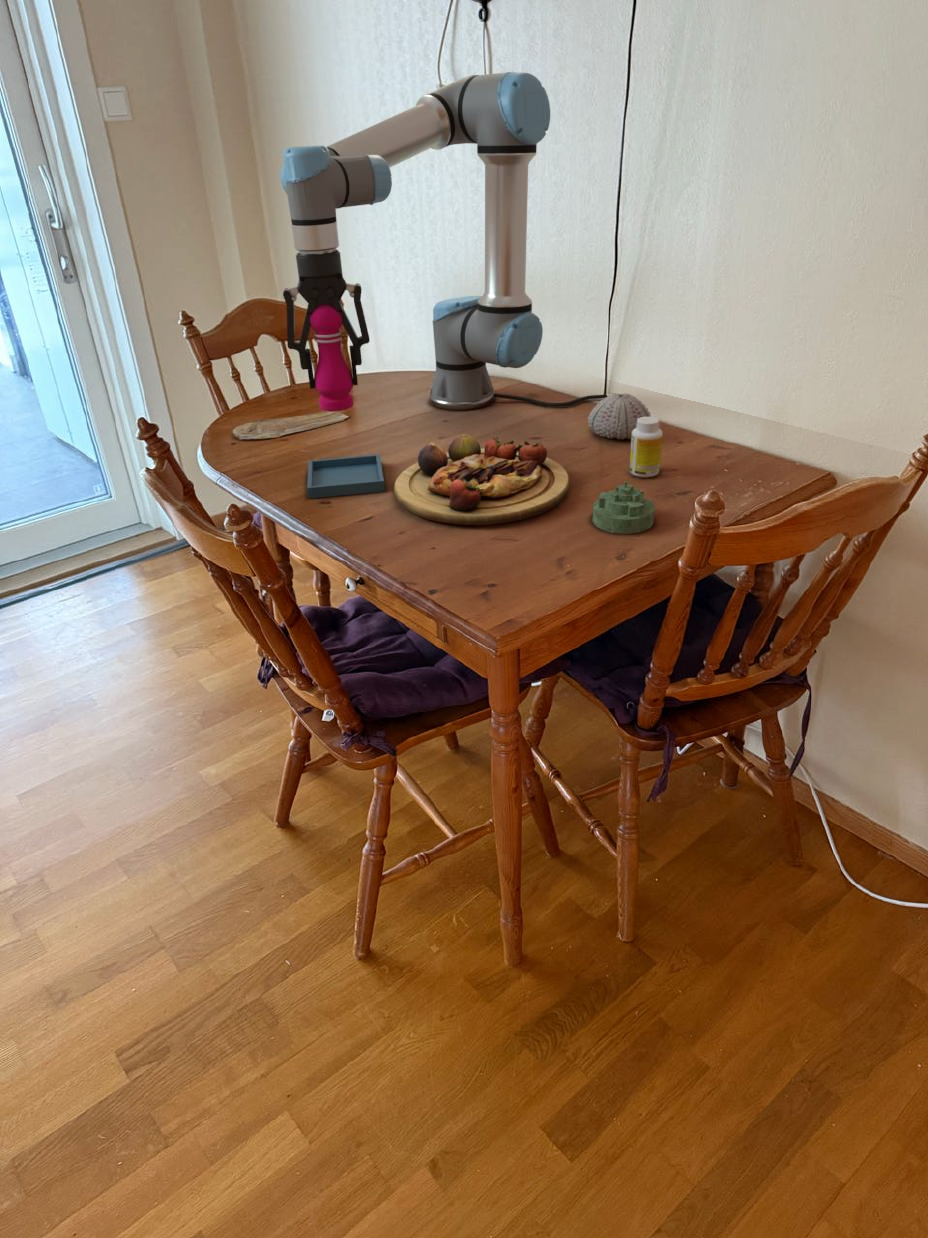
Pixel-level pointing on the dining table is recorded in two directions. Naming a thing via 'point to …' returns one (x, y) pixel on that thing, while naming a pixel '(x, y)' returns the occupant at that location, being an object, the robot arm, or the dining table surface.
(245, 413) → the dining table surface
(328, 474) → the tray
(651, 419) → the supplement bottle
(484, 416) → the dining table surface
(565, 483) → the wooden plate
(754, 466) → the dining table surface
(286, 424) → the fish fossil
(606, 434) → the sea urchin shell
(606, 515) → the decorative artifact
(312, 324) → the pepper mill
